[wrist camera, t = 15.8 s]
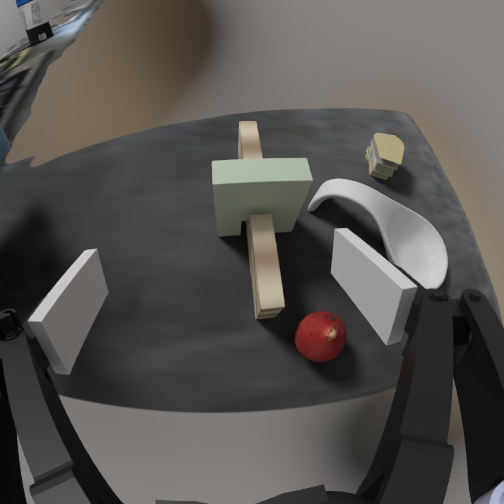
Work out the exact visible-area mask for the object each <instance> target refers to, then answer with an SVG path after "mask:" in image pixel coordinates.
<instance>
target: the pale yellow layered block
mask: <svg viewBox="0 0 504 504" xmlns="http://www.w3.org/2000/svg"><path fill="white" fill-rule="evenodd" d="M403 152H404V144H403V142H402V141H401V140H400V139H398V138H397V137H396V136H394V135H388V134H382V133H376V134H375V135H374V138H373V139H372V140H371V146H368V148H367V154H366V160H367V161H368V162H369V172H370V175H371V176H374V177H377V178H380V179H384V180H387V179H388V177H392V176H393V172H394V169H395V170H397V169H398V165H399V164H401V162H402V157H403Z"/></svg>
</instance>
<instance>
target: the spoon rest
mask: <svg viewBox="0 0 504 504" xmlns="http://www.w3.org/2000/svg"><path fill="white" fill-rule="evenodd" d="M328 198H342V199H346V200H349V201H351V202H354V203H356V204H358V205H359V206H361V207H363V208H364V209H365V210H366V211H367V212H368V213H369V214H370V215H371V216H372V217H373V219H374V220H375V222H376V224H377V226H378V228H379V230H380V233H381V236H382V239H383V242H384V246H385V250H386V254H387V257H388V260H389V262H390V263H393V264H395V265H397V266H399V267H401V268H402V269H403V270H405V271H406V272H407V273H408V274H409V275H411V276H412V278H414V279H415V280H416V281H418V282H419V283H420V284H421V285H422V286H423V287H425V288H426V289H429V288H434V289H437V288H439V287H440V286H441V284H442V283H443V281H444V279H445V276H446V273H447V267H448V258H447V251H446V248H445V245H444V242H443V240H442V238H441V236H440V235H439V233H438V232H437V230H436V229H435V228H434V227H433V226H432V224H431V223H429V222H428V221H427V220H426V219H425V218H423V217H422V216H421V215H419V214H417V213H416V212H414V211H412V210H410V209H408V208H407V207H405V206H403V205H401V204H399V203H397V202H395V201H393V200H392V199H390V198H388V197H386V196H385V195H383V194H381V193H379V192H377V191H376V190H374V189H372V188H370V187H368V186H366V185H364V184H361V183H358V182H355V181H351V180H346V179H331V180H328V181H326V182H324V183H323V184H322V185H321V187H320V188H319V190H318V191H317V193H316V194H315V196H314V198H313V199H312V201H311V203H310V204H309V206H308V211H314V210H315V209H316V208H317V207H318V206H319V205H320V204H321V203H322V202H323V201H324V200H326V199H328Z"/></svg>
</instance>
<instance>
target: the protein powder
mask: <svg viewBox="0 0 504 504" xmlns="http://www.w3.org/2000/svg"><path fill="white" fill-rule="evenodd" d="M16 3H17V7H18V9H19V13H20V16H21V19H22V21H23V24H24V27H25V29H26V32H27V35H28V38H29V42H30V44H31V45H32V44H36V43H39V42H41V41H44V40H46V39H48V38H50V37H52V36H53V33H52V30H51V27H50V24H49V21H48V18H47V15H46V12H45V8H44V5H43V1H42V0H16Z"/></svg>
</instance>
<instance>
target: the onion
mask: <svg viewBox="0 0 504 504" xmlns="http://www.w3.org/2000/svg"><path fill="white" fill-rule="evenodd" d="M346 337H347V332H346V328H345V325H344V323H343V322H342V321H341V319H340V318H339V317H338V316H336V315H334V314H332V313H331V312H329V311H317V312H314V313H312V314H309V315H307V316H306V317H305V318H304V319H303V320H302V321H301V322H300V323H299V326H298V328H297V330H296V333H295V343H296V347H297V350H298V351H299V352H300V353H301V354H302V356H303V357H305V358H307V359H309V360H311V361H313V362H325V361H328V360H331V359H334V358H335V357H336V356H337V355H338V354H339V353H340V352H341V351H342V350H343V348H344V345H345V343H346Z"/></svg>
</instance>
